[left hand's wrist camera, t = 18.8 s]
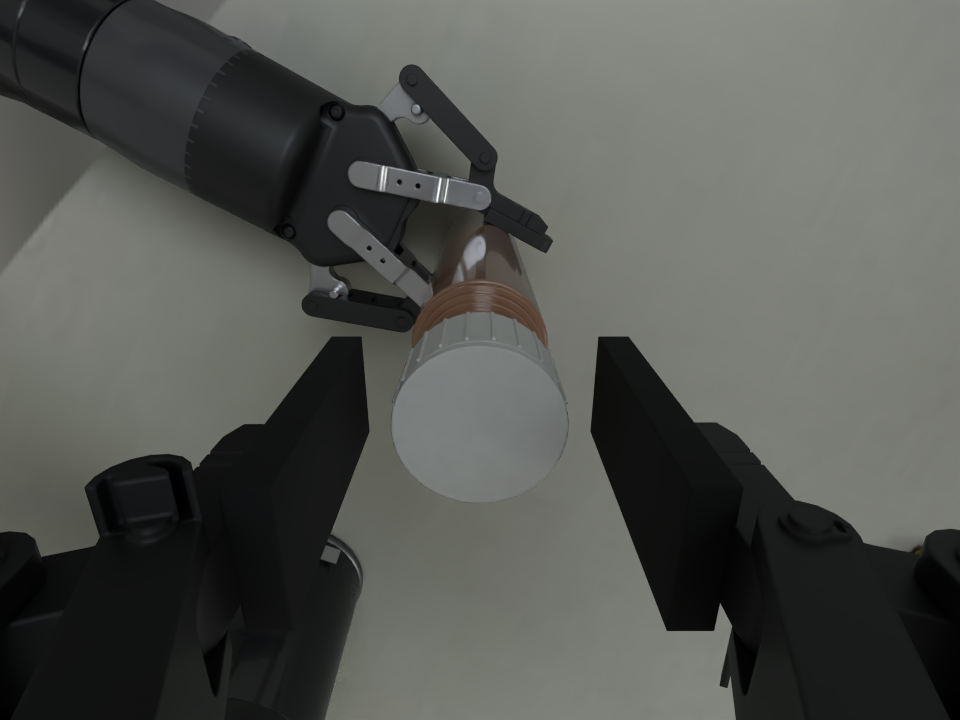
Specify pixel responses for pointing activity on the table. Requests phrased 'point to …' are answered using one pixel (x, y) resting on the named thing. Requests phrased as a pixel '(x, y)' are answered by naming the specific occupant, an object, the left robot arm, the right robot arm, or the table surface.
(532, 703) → the table surface
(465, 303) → the bottle
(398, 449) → the cap
